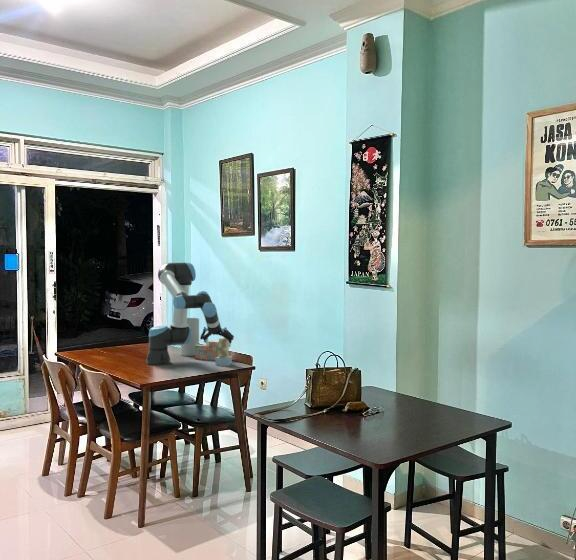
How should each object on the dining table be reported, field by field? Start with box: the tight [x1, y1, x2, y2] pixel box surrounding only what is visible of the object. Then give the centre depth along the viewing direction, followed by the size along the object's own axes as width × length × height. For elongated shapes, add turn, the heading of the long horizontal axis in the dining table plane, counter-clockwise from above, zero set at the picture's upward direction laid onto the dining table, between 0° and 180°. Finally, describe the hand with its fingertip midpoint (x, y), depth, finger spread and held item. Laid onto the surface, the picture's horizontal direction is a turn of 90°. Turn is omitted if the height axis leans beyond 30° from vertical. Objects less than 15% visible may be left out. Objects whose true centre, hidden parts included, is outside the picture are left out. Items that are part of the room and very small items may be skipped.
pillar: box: [218, 336, 230, 358], centre depth 364 cm, size 5×5×12 cm
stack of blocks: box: [194, 339, 219, 361], centre depth 383 cm, size 21×6×12 cm, turn 75°
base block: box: [214, 355, 233, 367], centre depth 364 cm, size 8×8×5 cm
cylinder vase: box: [180, 317, 200, 357], centre depth 400 cm, size 12×12×25 cm
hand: (219, 345), depth 354 cm, fingers open, 13 cm apart
